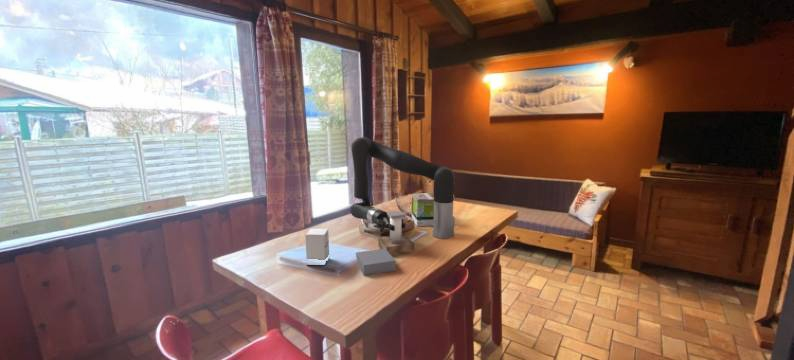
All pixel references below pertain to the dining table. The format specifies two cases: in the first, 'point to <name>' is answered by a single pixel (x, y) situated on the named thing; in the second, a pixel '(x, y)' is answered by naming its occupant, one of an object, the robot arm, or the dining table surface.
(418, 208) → the tea box
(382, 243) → the stand
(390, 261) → the stand
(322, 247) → the supplement box
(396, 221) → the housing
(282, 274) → the dining table surface
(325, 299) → the dining table surface
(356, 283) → the dining table surface
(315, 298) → the dining table surface
